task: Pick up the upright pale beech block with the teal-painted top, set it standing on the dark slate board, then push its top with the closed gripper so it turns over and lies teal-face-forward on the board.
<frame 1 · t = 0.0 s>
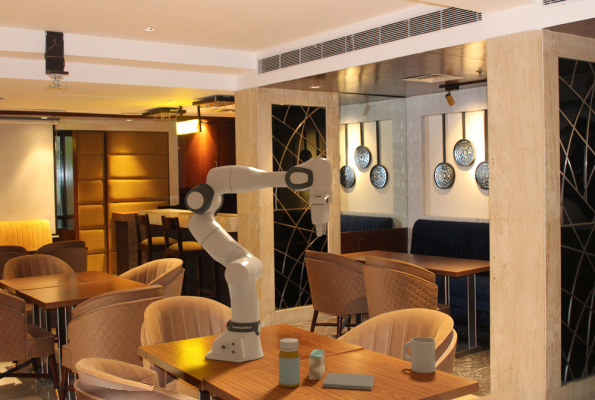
hand: (321, 235, 221), 48 cm above the table, fingers open, 8 cm apart
block: (317, 375, 202), on the table
bottle: (289, 385, 192), on the table
mug: (418, 369, 209), on the table
board: (349, 382, 194), on the table
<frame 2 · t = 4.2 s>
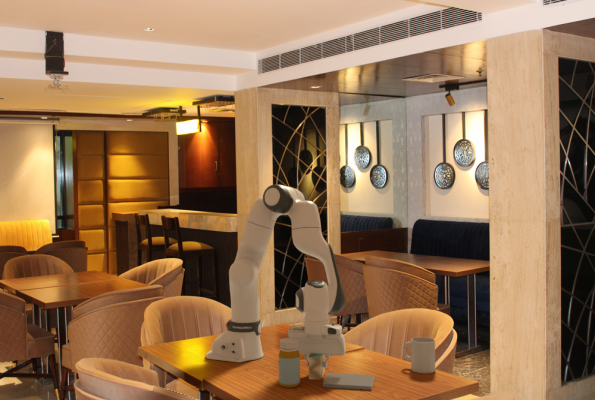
hand: (317, 366, 202), 3 cm above the table, fingers closed on block, 4 cm apart
block: (317, 375, 202), on the table, touching gripper
everything else where it was.
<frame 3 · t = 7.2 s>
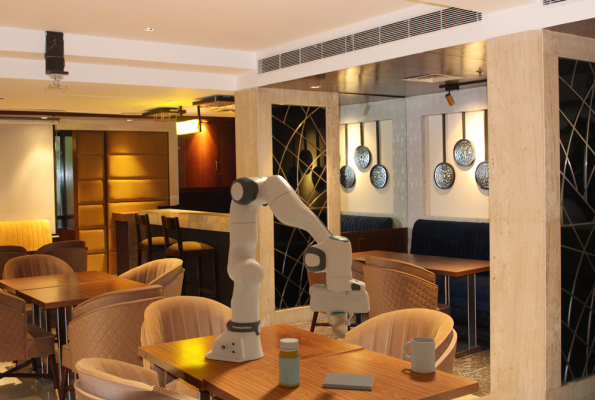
hand: (339, 324, 194), 19 cm above the table, fingers closed on block, 4 cm apart
block: (340, 334, 194), point 16 cm above the table, touching gripper
everything else where it was.
when the fingers open (6 cm above the table, at t = 10.3 s): block stays where it is, resting on board.
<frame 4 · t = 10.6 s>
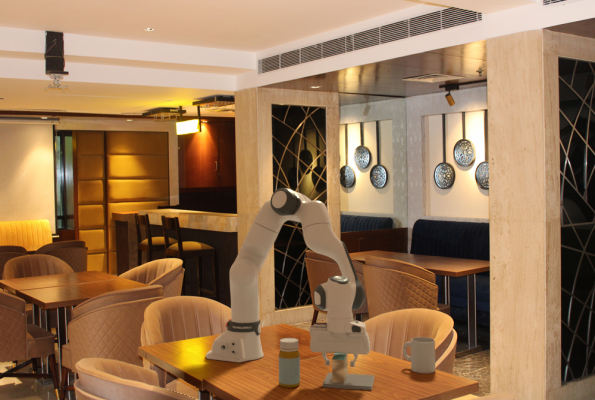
hand: (340, 365, 194), 6 cm above the table, fingers open, 7 cm apart
block: (340, 378, 195), point 1 cm above the table, touching board
everything else where it was.
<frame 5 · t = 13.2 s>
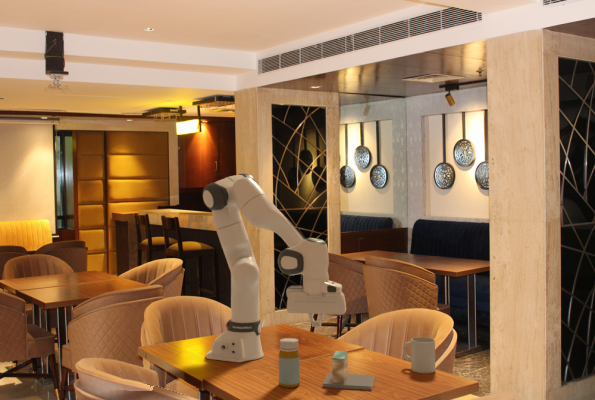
hand: (316, 326, 196), 19 cm above the table, fingers closed
nothing on the table moved.
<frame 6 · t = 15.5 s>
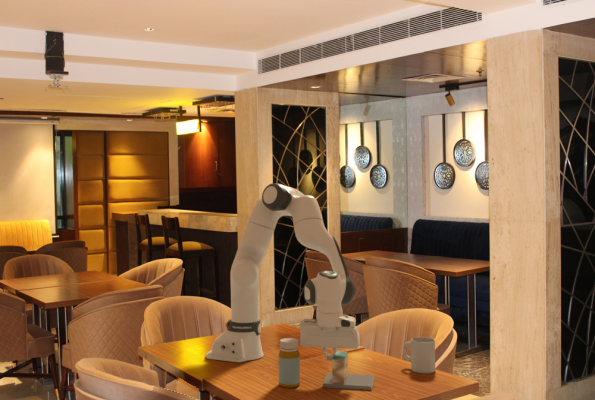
hand: (329, 360, 195), 7 cm above the table, fingers closed
block: (340, 378, 195), point 1 cm above the table, touching board, gripper
everything else where it was.
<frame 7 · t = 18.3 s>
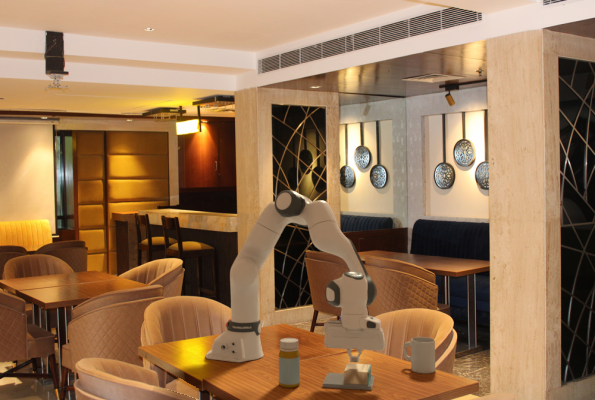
hand: (354, 361, 193), 7 cm above the table, fingers closed
block: (345, 372, 194), point 3 cm above the table, tilted 90°, touching board
everything else where it was.
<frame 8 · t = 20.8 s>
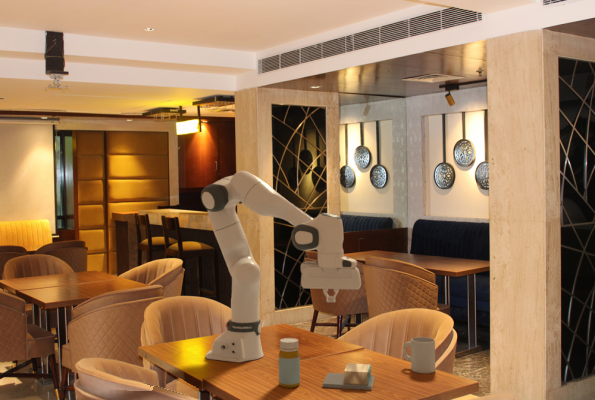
hand: (331, 301, 195), 27 cm above the table, fingers closed
nothing on the table moved.
at the end: block tilted 90°; block inside the target area on the board (1.6 cm from its centre), point 3.2 cm above the board's base; the gripper is holding nothing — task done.
